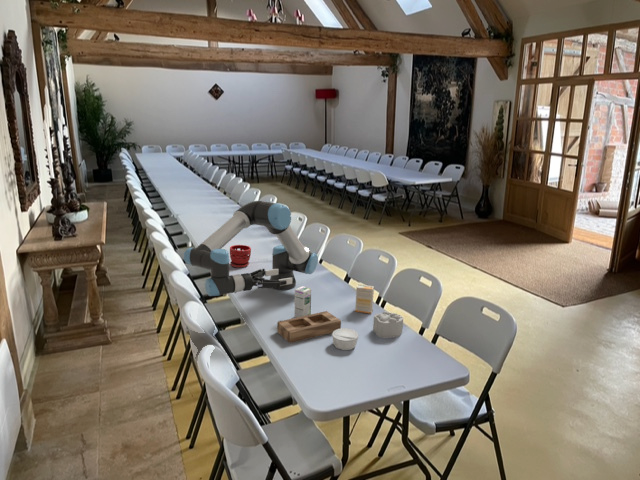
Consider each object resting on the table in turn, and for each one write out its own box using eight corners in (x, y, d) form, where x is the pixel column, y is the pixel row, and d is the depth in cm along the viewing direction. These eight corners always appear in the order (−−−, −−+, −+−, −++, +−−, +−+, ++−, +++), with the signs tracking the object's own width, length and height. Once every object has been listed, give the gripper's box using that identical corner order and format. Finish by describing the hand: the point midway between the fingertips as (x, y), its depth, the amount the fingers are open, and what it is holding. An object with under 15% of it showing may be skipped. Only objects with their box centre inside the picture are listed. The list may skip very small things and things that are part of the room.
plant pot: (236, 270, 289) (236, 251, 286) (226, 264, 298) (225, 246, 295) (254, 266, 297) (254, 248, 294) (244, 261, 307) (244, 243, 303)
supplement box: (372, 310, 238) (374, 286, 235) (371, 314, 234) (372, 289, 230) (356, 308, 240) (358, 283, 237) (354, 311, 236) (356, 287, 233)
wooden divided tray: (277, 332, 211) (277, 321, 210) (326, 320, 224) (326, 310, 223) (290, 343, 201) (290, 332, 200) (340, 330, 215) (341, 320, 213)
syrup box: (303, 320, 224) (304, 291, 220) (293, 317, 227) (294, 288, 223) (310, 316, 228) (311, 288, 224) (301, 313, 232) (301, 285, 228)
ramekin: (336, 353, 195) (336, 341, 194) (328, 340, 205) (328, 329, 204) (361, 350, 198) (362, 338, 197) (352, 338, 209) (353, 327, 207)
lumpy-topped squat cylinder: (370, 328, 219) (372, 311, 216) (396, 326, 222) (398, 308, 220) (379, 338, 209) (381, 320, 207) (406, 336, 213) (408, 318, 210)
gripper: (230, 281, 216) (272, 275, 227) (253, 300, 196) (297, 292, 207) (230, 266, 215) (272, 260, 226) (253, 283, 194) (298, 276, 205)
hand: (284, 276), depth 216 cm, fingers open, 13 cm apart
